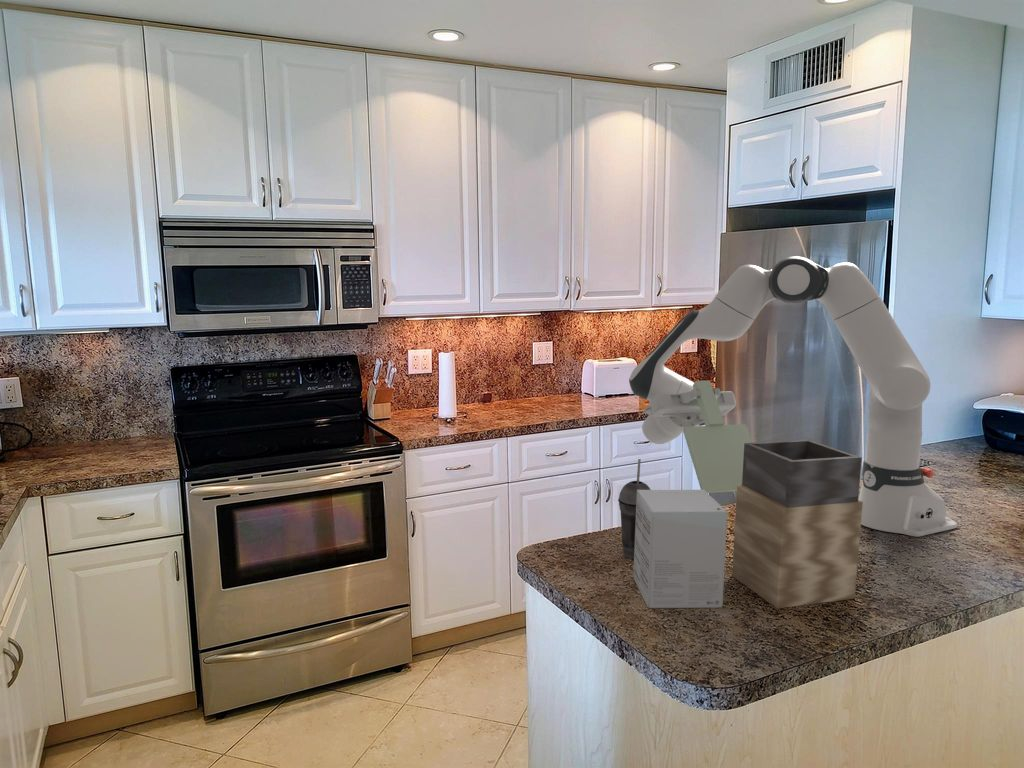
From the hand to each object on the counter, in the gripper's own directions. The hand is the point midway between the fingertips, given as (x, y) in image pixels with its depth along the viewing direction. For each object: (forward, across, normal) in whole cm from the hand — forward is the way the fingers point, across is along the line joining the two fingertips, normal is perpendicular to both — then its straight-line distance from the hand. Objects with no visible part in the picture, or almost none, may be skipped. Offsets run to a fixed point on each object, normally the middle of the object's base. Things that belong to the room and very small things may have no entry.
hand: (707, 391), depth 158 cm
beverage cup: (-6, -22, +33) cm, 40 cm away
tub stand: (+13, 0, +44) cm, 45 cm away
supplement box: (+10, -22, +42) cm, 49 cm away
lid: (-1, 0, +10) cm, 10 cm away
